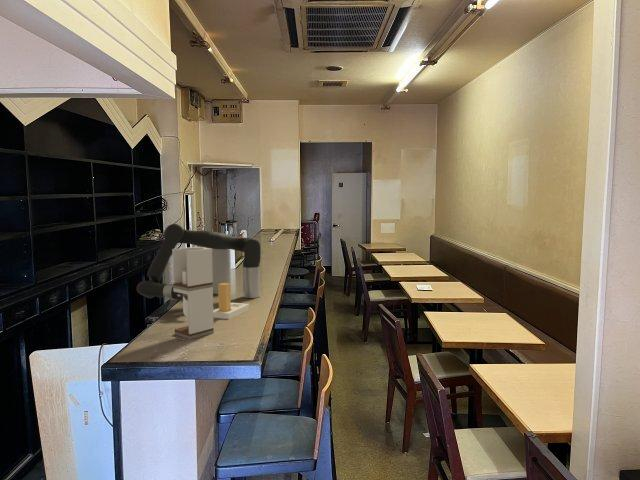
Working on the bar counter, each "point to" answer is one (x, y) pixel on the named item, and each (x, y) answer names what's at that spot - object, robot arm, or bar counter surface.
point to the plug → (224, 297)
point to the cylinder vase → (221, 268)
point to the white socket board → (231, 311)
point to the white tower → (194, 289)
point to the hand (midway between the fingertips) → (204, 293)
